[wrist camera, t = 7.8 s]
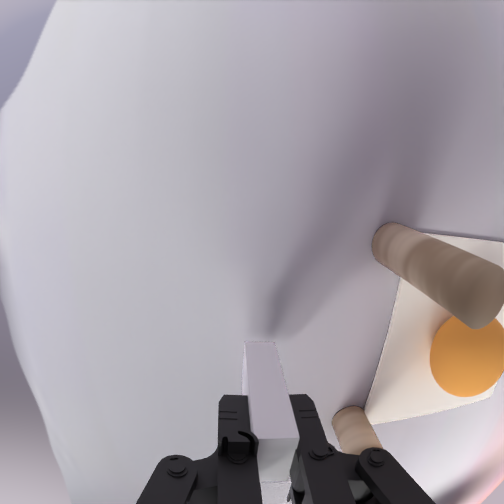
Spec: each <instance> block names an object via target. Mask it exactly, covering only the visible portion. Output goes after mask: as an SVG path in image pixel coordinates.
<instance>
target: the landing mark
mask: <svg viewBox="0 0 504 504" xmlns="http://www.w3.org/2000/svg"><path fill="white" fill-rule="evenodd" d="M424 234H426V235H429V236H431V237H434V238H436V239H439V240H441V241H443V242H446V243H448V244H451V245H453V246H455V247H458V248H460V249H462V250H465V251H467V252H469V253H472V254H474V255H476V256H479V257H481V258H483V259H485V260H488V261H490V262H492V263H494V264H496V265H499V266H500V267H502V268H503V269H504V242H498V241H490V240H482V239H473V238H465V237H456V236H448V235H439V234H429V233H424ZM453 316H454V315H452V314H451V313H450V312H448V311H447V310H446V309H444V308H443V307H441V306H440V305H439V304H437V303H436V302H435V301H433V300H432V299H431V298H429V297H428V296H426V295H425V294H424V293H422V292H421V291H419V290H418V289H417V288H415V287H414V286H412V285H411V284H410V283H408V282H407V281H405V280H404V279H403V278H401V277H400V280H399V285H398V290H397V294H396V299H395V303H394V308H393V312H392V316H391V320H390V324H389V328H388V332H387V336H386V339H385V343H384V347H383V350H382V354H381V357H380V361H379V364H378V368H377V371H376V374H375V377H374V380H373V384H372V387H371V390H370V393H369V396H368V399H367V402H366V405H365V407H364V410H363V411H364V412H365V414H366V416H367V418H368V420H369V422H370V424H371V425H374V424H380V423H387V422H393V421H398V420H404V419H409V418H414V417H419V416H423V415H428V414H432V413H437V412H441V411H445V410H449V409H453V408H457V407H460V406H464V405H468V404H471V403H475V402H478V401H481V400H484V399H488V398H490V397H491V395H492V393H493V391H494V389H495V387H496V384H497V382H498V381H497V382H496V383H495V384H494V385H493V386H492V387H490V388H489V389H488V390H486V391H485V392H483V393H481V394H479V395H476V396H472V397H458V396H454V395H452V394H449V393H447V392H446V391H444V390H443V389H442V388H441V387H440V386H439V385H438V384H437V382H436V381H435V379H434V377H433V375H432V372H431V368H430V360H429V359H430V349H431V345H432V342H433V339H434V337H435V335H436V333H437V332H438V330H439V329H440V327H441V326H442V325H443V324H444V323H445V322H446V321H447V320H448V319H450V318H451V317H453ZM495 318H496V319H497V320H498V321H499V322H500V324H501V325H502V326H503V328H504V304H503V306H502V308H501V310H500V312H499V313H498V315H497V316H496V317H495ZM498 380H499V379H498Z"/></svg>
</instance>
